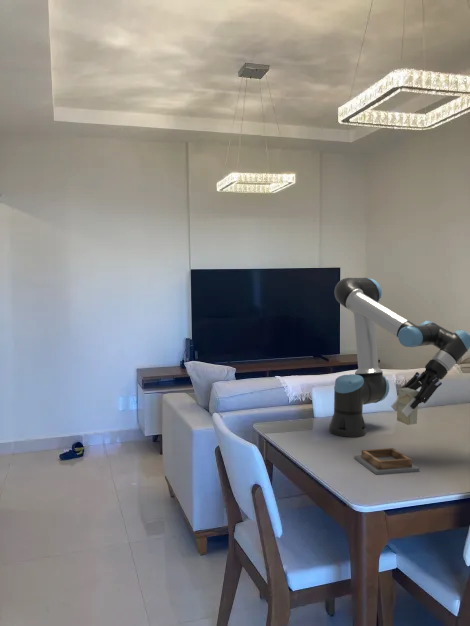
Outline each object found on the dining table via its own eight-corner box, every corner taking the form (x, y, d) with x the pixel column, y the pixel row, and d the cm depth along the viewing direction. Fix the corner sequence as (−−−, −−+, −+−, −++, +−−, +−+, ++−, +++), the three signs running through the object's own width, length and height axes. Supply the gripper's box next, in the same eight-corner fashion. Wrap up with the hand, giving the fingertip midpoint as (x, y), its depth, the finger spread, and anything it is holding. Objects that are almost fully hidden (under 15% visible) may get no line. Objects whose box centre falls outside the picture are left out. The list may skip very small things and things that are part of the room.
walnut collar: (361, 457, 192) (361, 450, 192) (392, 454, 195) (393, 448, 195) (378, 469, 180) (378, 461, 180) (411, 466, 183) (412, 459, 183)
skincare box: (396, 420, 200) (397, 388, 199) (405, 419, 202) (407, 387, 201) (408, 425, 194) (409, 391, 193) (418, 423, 196) (419, 390, 195)
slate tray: (354, 458, 194) (354, 455, 194) (394, 455, 197) (394, 452, 197) (376, 474, 178) (376, 471, 178) (419, 471, 182) (419, 468, 182)
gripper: (463, 377, 191) (420, 425, 188) (430, 367, 210) (390, 411, 207) (450, 362, 189) (407, 411, 186) (418, 354, 208) (378, 398, 205)
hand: (398, 411), depth 197 cm, fingers closed on skincare box, 7 cm apart
